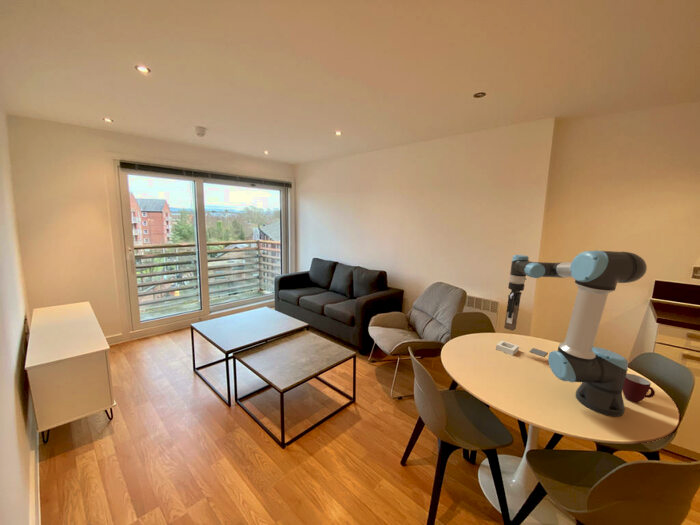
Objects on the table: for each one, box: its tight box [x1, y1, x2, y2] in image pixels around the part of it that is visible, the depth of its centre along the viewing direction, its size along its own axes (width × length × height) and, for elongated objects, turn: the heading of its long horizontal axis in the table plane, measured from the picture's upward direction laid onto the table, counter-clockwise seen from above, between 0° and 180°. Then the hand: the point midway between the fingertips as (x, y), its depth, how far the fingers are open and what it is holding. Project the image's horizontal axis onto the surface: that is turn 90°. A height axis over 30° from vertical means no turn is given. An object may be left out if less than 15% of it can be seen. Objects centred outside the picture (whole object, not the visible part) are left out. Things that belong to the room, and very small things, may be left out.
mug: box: [622, 373, 656, 404], centre depth 116 cm, size 11×8×10 cm
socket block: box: [495, 340, 520, 357], centre depth 158 cm, size 9×9×3 cm
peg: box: [504, 305, 520, 332], centre depth 155 cm, size 4×4×14 cm
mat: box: [528, 347, 548, 357], centre depth 157 cm, size 7×7×1 cm
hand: (511, 322), depth 156 cm, fingers closed on peg, 4 cm apart
